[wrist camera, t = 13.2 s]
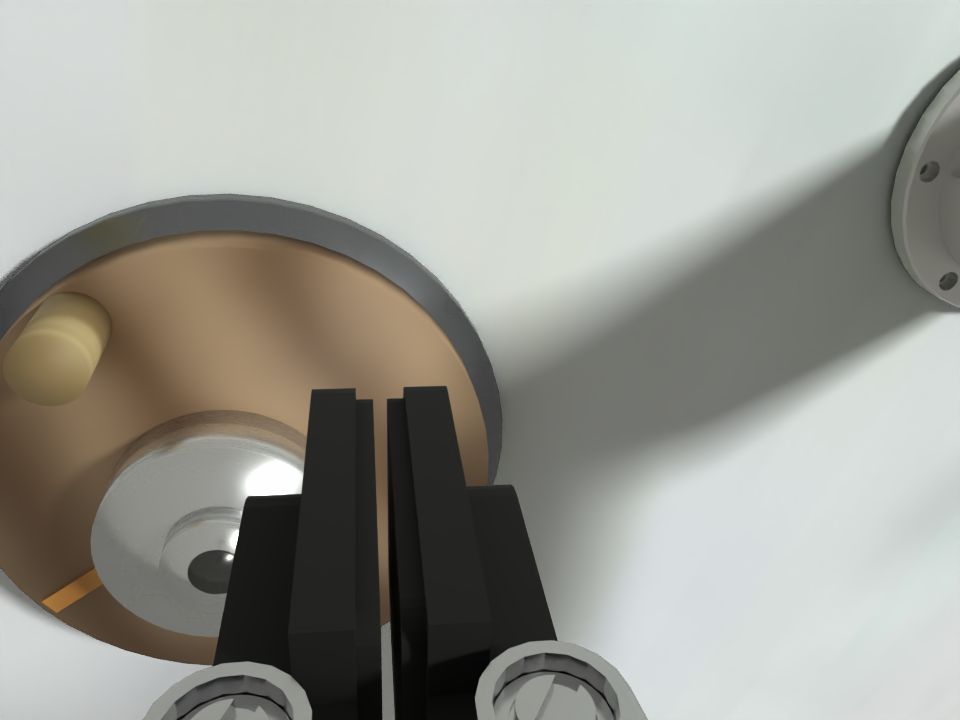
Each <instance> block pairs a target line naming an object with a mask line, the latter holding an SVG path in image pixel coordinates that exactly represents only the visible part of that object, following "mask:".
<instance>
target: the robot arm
mask: <svg viewBox="0 0 960 720" xmlns="http://www.w3.org/2000/svg"><path fill="white" fill-rule="evenodd" d="M891 228H892V233H893V238H894V243H895V248H896V251H897V253H898V255H899V257H900V259H901V261H902V263H903V266H904V268H905V269H906V271H907V272H908V273H909V274H910V275H911V277H912V278H913V279H914V280H915V281H916V282H917V284H918V285H920V286H921V287H923V288H924V289H926V290H927V291H929V292H930V293H931V294H933V295H934V296H936V297H937V298H939V299H941V300H943V301H945V302H947V303H949V304H951V305H953V306H955V307H958V308H960V70H959V71H958V72H957V73H956V74H955V75H954V76H953V77H952V78H951V79H950V80H949V81H948V82H947V83H946V84H945V85H944V86H943V87H942V89H941V90H940V91H939V93H938V94H937V96H936V97H935V98H934V100H933V101H932V102H931V104H930V105H929V106H928V108H927V109H926V111H925V112H924V113H923V115H922V117H921V118H920V120H919V122H918V124H917V126H916V128H915V130H914V131H913V133H912V135H911V137H910V139H909V141H908V143H907V145H906V148H905V150H904V153H903V156H902V159H901V161H900V164H899V167H898V170H897V173H896V178H895V183H894V188H893V194H892V199H891ZM387 486H388V578H389V602H390V623H391V644H392V665H393V686H394V707H395V720H648V719H647V717H646V715H645V713H644V712H643V710H642V708H641V706H640V704H639V702H638V701H637V699H636V697H635V695H634V693H633V691H632V689H631V688H630V686H629V685H628V683H627V682H626V681H625V679H624V678H623V677H622V675H621V674H620V673H619V671H618V670H617V669H616V668H615V667H614V666H612V665H611V664H610V663H609V662H607V661H606V660H605V659H603V658H602V657H601V656H599V655H598V654H596V653H594V652H592V651H589V650H587V649H585V648H583V647H580V646H578V645H576V644H570V643H565V642H559V641H557V637H556V634H555V630H554V627H553V623H552V619H551V616H550V612H549V609H548V605H547V602H546V598H545V594H544V591H543V587H542V584H541V580H540V576H539V573H538V569H537V566H536V562H535V558H534V555H533V551H532V548H531V544H530V541H529V537H528V533H527V530H526V526H525V523H524V519H523V515H522V512H521V508H520V505H519V501H518V497H517V494H516V492H515V489H514V487H513V486H512V485H491V486H468V487H466V482H465V477H464V471H463V466H462V461H461V456H460V451H459V446H458V441H457V435H456V430H455V425H454V420H453V415H452V410H451V404H450V399H449V394H448V389H447V386H417V387H404V388H403V398H391V399H387ZM143 720H382V670H381V620H380V588H379V558H378V529H377V500H376V470H375V441H374V411H373V399H356V388H340V389H312V391H311V399H310V410H309V420H308V430H307V441H306V451H305V461H304V472H303V482H302V492H301V494H282V495H259V496H248V497H247V498H246V500H245V504H244V507H243V512H242V518H241V523H240V528H239V533H238V538H237V543H236V549H235V554H234V559H233V564H232V569H231V574H230V580H229V585H228V590H227V595H226V600H225V606H224V611H223V616H222V621H221V626H220V631H219V637H218V642H217V647H216V652H215V657H214V662H213V667H210V668H206V669H203V670H200V671H197V672H195V673H193V674H192V675H190V676H188V677H186V678H185V679H183V680H181V681H179V682H178V683H176V684H174V685H173V686H172V687H171V688H169V689H168V690H167V691H166V692H165V693H164V694H163V695H162V696H161V697H160V698H159V699H158V700H156V701H155V702H154V703H153V705H152V706H151V708H150V709H149V711H148V712H147V714H146V716H145V717H144V719H143Z"/></svg>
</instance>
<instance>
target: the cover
mask: <svg viewBox="0 0 960 720" xmlns="http://www.w3.org/2000/svg"><path fill="white" fill-rule="evenodd" d="M306 441H307V437H306V436H305V435H303V434H302V433H301V432H299V431H298V430H296V429H294V428H292V427H291V426H289V425H287V424H285V423H283V422H280V421H278V420H275V419H273V418H270V417H267V416H263V415H260V414H256V413H251V412H244V411H236V410H209V411H201V412H195V413H190V414H186V415H183V416H179V417H176V418H173V419H171V420H168V421H166V422H164V423H161V424H159V425H158V426H156V427H154V428H152V429H151V430H149V431H147V432H146V433H145V434H143V435H142V436H141V437H139V438H138V439H137V440H135V441H134V442H133V443H132V444H131V445H130V446H129V447H128V448H127V449H126V451H125V452H124V453H123V455H122V456H121V458H120V459H119V460H118V462H117V464H116V466H115V468H114V470H113V472H112V474H111V477H110V480H109V482H108V485H107V487H106V490H105V493H104V495H103V498H102V501H101V503H100V506H99V509H98V511H97V514H96V517H95V520H94V523H93V527H92V533H91V554H92V558H93V563H94V566H95V569H96V571H97V573H98V576H99V578H100V579H101V581H102V583H103V584H104V586H105V587H106V589H107V590H108V591H109V592H110V593H111V595H112V596H113V597H114V598H115V599H116V600H117V601H118V602H119V603H120V604H122V605H123V606H124V607H125V608H126V609H128V610H129V611H131V612H132V613H134V614H135V615H136V616H138V617H140V618H142V619H144V620H146V621H148V622H149V623H152V624H154V625H157V626H159V627H162V628H164V629H167V630H171V631H175V632H178V633H183V634H188V635H194V636H205V637H219V631H220V626H221V621H222V616H223V611H224V606H225V600H226V595H227V590H228V585H229V580H230V574H231V569H232V564H233V559H234V554H235V549H236V543H237V538H238V533H239V528H240V523H241V518H242V512H243V507H244V504H245V500H246V498H247V497H248V496H259V495H282V494H301V492H302V482H303V472H304V461H305V451H306Z"/></svg>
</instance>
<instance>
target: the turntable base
mask: <svg viewBox="0 0 960 720" xmlns="http://www.w3.org/2000/svg"><path fill="white" fill-rule="evenodd" d="M224 230H240V231H250V232H259V233H269V234H277V235H281V236H286V237H290V238H294V239H299V240H303V241H307V242H312V243H314V244H317V245H320V246H323V247H326V248H328V249H331V250H334V251H337V252H339V253H342V254H345V255H347V256H349V257H351V258H353V259H355V260H357V261H359V262H361V263H363V264H365V265H367V266H369V267H371V268H373V269H374V270H376V271H378V272H379V273H381V274H382V275H384V276H385V277H387V278H388V279H390V280H391V281H392V282H394V283H395V284H397V285H398V286H400V287H401V288H403V289H404V290H405V291H406V292H407V293H408V294H410V295H411V296H412V297H413V298H414V299H415V300H416V301H417V302H418V303H420V304H421V305H422V306H423V307H424V308H425V309H426V310H427V311H428V312H429V313H430V314H431V316H432V317H433V318H434V319H435V320H436V321H437V323H438V324H439V325H440V326H441V327H442V329H443V330H444V331H445V332H446V333H447V335H448V337H449V338H450V340H451V342H452V343H453V345H454V346H455V348H456V350H457V351H458V353H459V354H460V356H461V358H462V360H463V362H464V365H465V367H466V369H467V372H468V374H469V376H470V379H471V381H472V384H473V387H474V390H475V393H476V396H477V399H478V402H479V405H480V408H481V412H482V416H483V420H484V424H485V428H486V434H487V444H488V454H489V460H488V476H487V485H486V486H491V485H493V482H494V479H495V476H496V473H497V468H498V462H499V457H500V452H501V441H502V414H501V406H500V398H499V391H498V387H497V384H496V380H495V377H494V373H493V370H492V366H491V363H490V360H489V358H488V355H487V353H486V351H485V349H484V347H483V344H482V342H481V340H480V338H479V336H478V333H477V331H476V329H475V327H474V326H473V324H472V323H471V321H470V319H469V318H468V316H467V315H466V313H465V312H464V310H463V309H462V307H461V306H460V304H459V302H458V301H457V300H456V299H455V298H454V297H453V295H452V294H451V293H450V292H449V291H448V290H447V289H446V287H445V286H444V285H443V284H442V283H441V282H440V281H439V279H438V278H437V277H436V276H435V275H433V274H432V273H431V272H430V271H429V270H428V269H427V268H425V267H424V266H423V265H422V264H421V263H420V262H419V261H417V260H416V259H415V258H414V257H413V256H412V255H410V254H409V253H407V252H406V251H404V250H403V249H401V248H400V247H398V246H397V245H395V244H394V243H392V242H391V241H389V240H388V239H386V238H385V237H383V236H382V235H380V234H378V233H376V232H374V231H372V230H370V229H368V228H366V227H364V226H362V225H360V224H358V223H356V222H353V221H351V220H349V219H347V218H345V217H342V216H339V215H336V214H333V213H330V212H327V211H324V210H321V209H318V208H316V207H313V206H310V205H305V204H300V203H295V202H291V201H286V200H281V199H276V198H272V197H261V196H249V195H238V194H213V195H188V196H182V197H176V198H170V199H164V200H158V201H152V202H147V203H144V204H140V205H137V206H134V207H130V208H127V209H124V210H120V211H117V212H114V213H110V214H108V215H106V216H104V217H102V218H99V219H97V220H95V221H93V222H90V223H88V224H86V225H84V226H82V227H79V228H77V229H75V230H73V231H72V232H70V233H69V234H67V235H65V236H64V237H62V238H61V239H59V240H58V241H56V242H54V243H53V244H51V245H50V246H48V247H47V248H45V249H44V250H42V251H41V252H40V253H39V254H37V255H36V256H35V257H34V258H33V259H32V260H31V261H29V262H28V263H27V264H26V265H25V266H24V267H23V268H21V269H20V270H19V271H18V272H17V273H16V274H15V275H14V276H13V277H12V278H11V279H10V281H9V282H8V283H7V284H6V285H5V287H4V288H3V289H2V290H1V291H0V341H1V339H2V338H3V337H4V335H5V334H6V333H7V331H8V330H9V329H10V327H11V326H12V324H13V323H14V322H15V321H16V320H17V319H18V318H19V317H20V315H21V314H22V313H23V312H24V311H25V310H26V309H27V308H28V307H29V306H30V305H31V304H32V302H33V301H34V300H35V299H36V298H37V297H39V296H40V295H41V294H42V293H44V292H45V291H46V290H47V289H49V288H50V287H51V286H52V285H54V284H55V283H56V282H57V281H59V280H60V279H61V278H63V277H64V276H66V275H68V274H69V273H71V272H73V271H74V270H76V269H78V268H80V267H81V266H83V265H85V264H86V263H88V262H90V261H92V260H93V259H96V258H98V257H101V256H103V255H105V254H108V253H110V252H113V251H115V250H118V249H120V248H122V247H125V246H127V245H131V244H135V243H139V242H142V241H146V240H150V239H154V238H157V237H161V236H166V235H174V234H181V233H188V232H196V231H224Z"/></svg>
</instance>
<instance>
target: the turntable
mask: <svg viewBox="0 0 960 720" xmlns="http://www.w3.org/2000/svg"><path fill="white" fill-rule="evenodd" d="M417 386H447V389H448V394H449V399H450V404H451V410H452V415H453V420H454V425H455V430H456V435H457V441H458V446H459V451H460V456H461V461H462V466H463V471H464V477H465V482H466V487H468V486H486V485H487V476H488V460H489V454H488V444H487V434H486V428H485V424H484V420H483V416H482V412H481V408H480V405H479V402H478V399H477V396H476V393H475V390H474V387H473V384H472V381H471V379H470V376H469V374H468V372H467V369H466V367H465V365H464V362H463V360H462V358H461V356H460V354H459V353H458V351H457V350H456V348H455V346H454V345H453V343H452V342H451V340H450V338H449V337H448V335H447V333H446V332H445V331H444V330H443V329H442V327H441V326H440V325H439V324H438V323H437V321H436V320H435V319H434V318H433V317H432V316H431V314H430V313H429V312H428V311H427V310H426V309H425V308H424V307H423V306H422V305H421V304H420V303H418V302H417V301H416V300H415V299H414V298H413V297H412V296H411V295H410V294H408V293H407V292H406V291H405V290H404V289H403V288H401V287H400V286H398V285H397V284H395V283H394V282H392V281H391V280H390V279H388V278H387V277H385V276H384V275H382V274H381V273H379V272H378V271H376V270H374V269H373V268H371V267H369V266H367V265H365V264H363V263H361V262H359V261H357V260H355V259H353V258H351V257H349V256H347V255H345V254H342V253H339V252H337V251H334V250H331V249H328V248H326V247H323V246H320V245H317V244H314V243H312V242H307V241H303V240H299V239H294V238H290V237H286V236H281V235H277V234H269V233H259V232H250V231H240V230H224V231H196V232H188V233H181V234H174V235H166V236H161V237H157V238H154V239H150V240H146V241H142V242H139V243H135V244H131V245H127V246H125V247H122V248H120V249H118V250H115V251H113V252H110V253H108V254H105V255H103V256H101V257H98V258H96V259H93V260H92V261H90V262H88V263H86V264H85V265H83V266H81V267H80V268H78V269H76V270H74V271H73V272H71V273H69V274H68V275H66V276H64V277H63V278H61V279H60V280H59V281H57V282H56V283H55V284H54V285H52V286H51V287H50V288H49V289H47V290H46V291H45V292H44V293H42V294H41V295H40V296H39V297H37V298H36V299H35V300H34V301H33V302H32V304H31V305H30V306H29V307H28V308H27V309H26V310H25V311H24V312H23V313H22V314H21V315H20V317H19V318H18V319H17V320H16V321H15V322H14V323H13V324H12V326H11V327H10V329H9V330H8V331H7V333H6V334H5V335H4V337H3V338H2V339H1V341H0V568H1V569H2V570H3V571H4V572H5V573H6V575H7V576H8V577H9V578H10V579H11V580H12V581H13V582H14V583H15V584H16V585H17V586H18V587H19V588H20V590H22V591H23V592H24V593H25V594H26V595H28V596H29V597H30V598H31V599H32V600H34V601H35V602H36V603H37V604H38V605H40V606H41V607H42V608H43V609H45V610H46V611H48V612H49V613H51V614H52V615H54V616H55V617H57V618H58V619H60V620H62V621H63V622H65V623H66V624H68V625H69V626H71V627H73V628H75V629H77V630H79V631H81V632H83V633H85V634H87V635H89V636H91V637H93V638H95V639H97V640H100V641H102V642H105V643H108V644H110V645H113V646H116V647H118V648H121V649H124V650H127V651H130V652H134V653H138V654H141V655H145V656H149V657H153V658H157V659H163V660H169V661H174V662H180V663H187V664H200V665H213V662H214V657H215V652H216V647H217V642H218V637H205V636H194V635H188V634H183V633H178V632H175V631H171V630H167V629H164V628H162V627H159V626H157V625H154V624H152V623H149V622H148V621H146V620H144V619H142V618H140V617H138V616H136V615H135V614H134V613H132V612H131V611H129V610H128V609H126V608H125V607H124V606H123V605H122V604H120V603H119V602H118V601H117V600H116V599H115V598H114V597H113V596H112V595H111V593H110V592H109V591H108V590H107V589H106V587H105V586H104V584H103V583H102V581H101V579H100V578H99V576H98V573H97V571H96V569H95V566H94V563H93V558H92V554H91V533H92V527H93V523H94V520H95V517H96V514H97V511H98V509H99V506H100V503H101V501H102V498H103V495H104V493H105V490H106V487H107V485H108V482H109V480H110V477H111V474H112V472H113V470H114V468H115V466H116V464H117V462H118V460H119V459H120V458H121V456H122V455H123V453H124V452H125V451H126V449H127V448H128V447H129V446H130V445H131V444H132V443H133V442H134V441H135V440H137V439H138V438H139V437H141V436H142V435H143V434H145V433H146V432H147V431H149V430H151V429H152V428H154V427H156V426H158V425H159V424H161V423H164V422H166V421H168V420H171V419H173V418H176V417H179V416H183V415H186V414H190V413H195V412H201V411H209V410H236V411H244V412H251V413H256V414H260V415H263V416H267V417H270V418H273V419H275V420H278V421H280V422H283V423H285V424H287V425H289V426H291V427H292V428H294V429H296V430H298V431H299V432H301V433H302V434H303V435H305V436H306V437H307V430H308V420H309V410H310V399H311V391H312V389H340V388H356V399H373V411H374V441H375V470H376V500H377V529H378V558H379V588H380V620H381V626H383V625H384V624H386V623H387V622H389V621H390V602H389V578H388V486H387V399H391V398H403V388H404V387H417Z"/></svg>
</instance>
